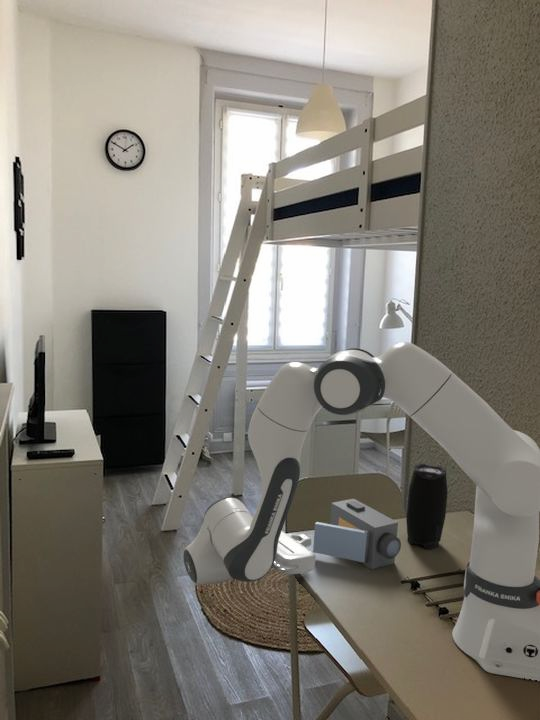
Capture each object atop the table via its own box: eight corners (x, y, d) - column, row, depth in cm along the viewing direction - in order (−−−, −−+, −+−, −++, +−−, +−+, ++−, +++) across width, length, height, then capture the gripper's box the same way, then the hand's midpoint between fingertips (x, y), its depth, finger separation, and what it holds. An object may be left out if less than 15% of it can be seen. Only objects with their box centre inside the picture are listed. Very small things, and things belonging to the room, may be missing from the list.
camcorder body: (402, 568, 140) (406, 523, 138) (379, 574, 136) (383, 529, 134) (350, 535, 155) (353, 495, 154) (328, 541, 152) (331, 499, 150)
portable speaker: (399, 535, 157) (406, 462, 155) (433, 535, 159) (441, 462, 156) (411, 550, 149) (419, 473, 146) (447, 550, 150) (455, 473, 148)
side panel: (367, 561, 139) (370, 531, 138) (366, 563, 138) (369, 533, 137) (314, 550, 143) (316, 521, 142) (313, 552, 142) (315, 523, 141)
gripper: (282, 558, 123) (336, 544, 130) (234, 520, 140) (284, 510, 147) (280, 587, 124) (334, 572, 131) (232, 546, 141) (282, 535, 148)
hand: (307, 539), depth 139 cm, fingers closed
